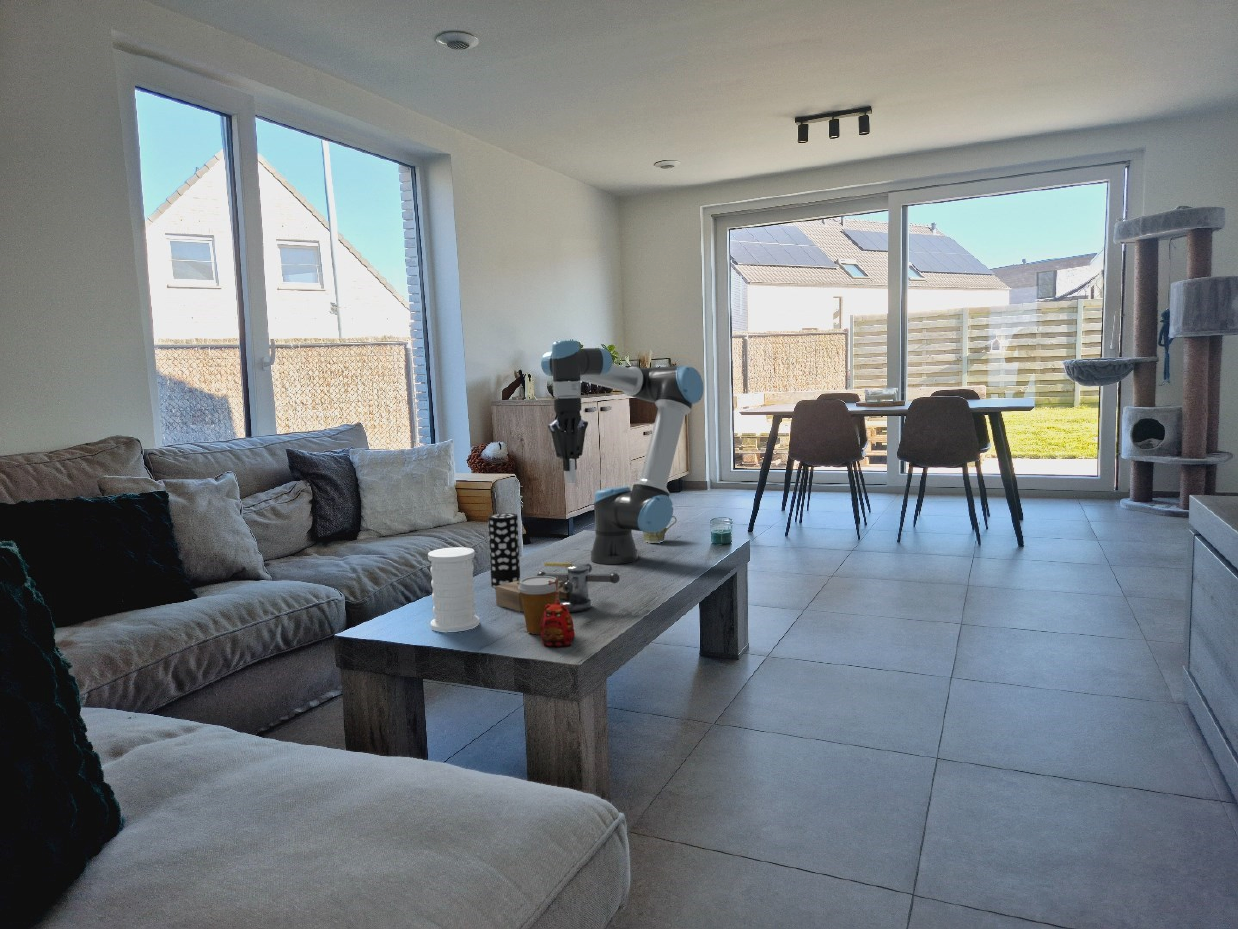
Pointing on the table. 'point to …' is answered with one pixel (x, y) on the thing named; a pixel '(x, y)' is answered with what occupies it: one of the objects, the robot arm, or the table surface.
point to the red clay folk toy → (556, 623)
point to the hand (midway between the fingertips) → (570, 482)
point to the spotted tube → (504, 548)
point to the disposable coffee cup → (536, 599)
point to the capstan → (578, 584)
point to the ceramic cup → (656, 534)
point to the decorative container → (453, 589)
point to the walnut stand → (518, 595)
